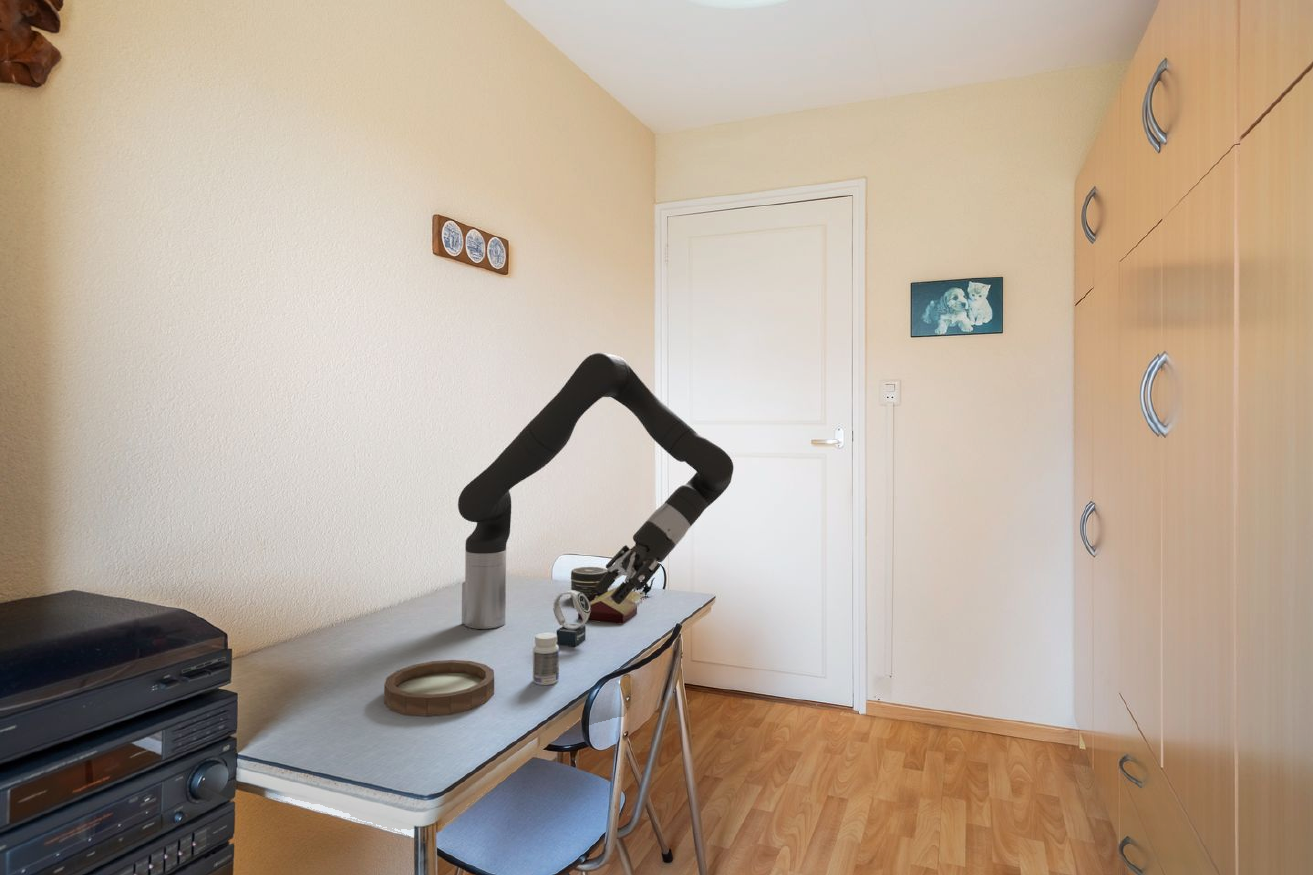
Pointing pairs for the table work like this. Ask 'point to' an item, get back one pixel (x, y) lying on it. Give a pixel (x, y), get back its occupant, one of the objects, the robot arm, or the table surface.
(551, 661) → the pill bottle
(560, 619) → the watch
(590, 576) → the jar
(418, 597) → the table surface
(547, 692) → the table surface
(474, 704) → the ring tray
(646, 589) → the creature
